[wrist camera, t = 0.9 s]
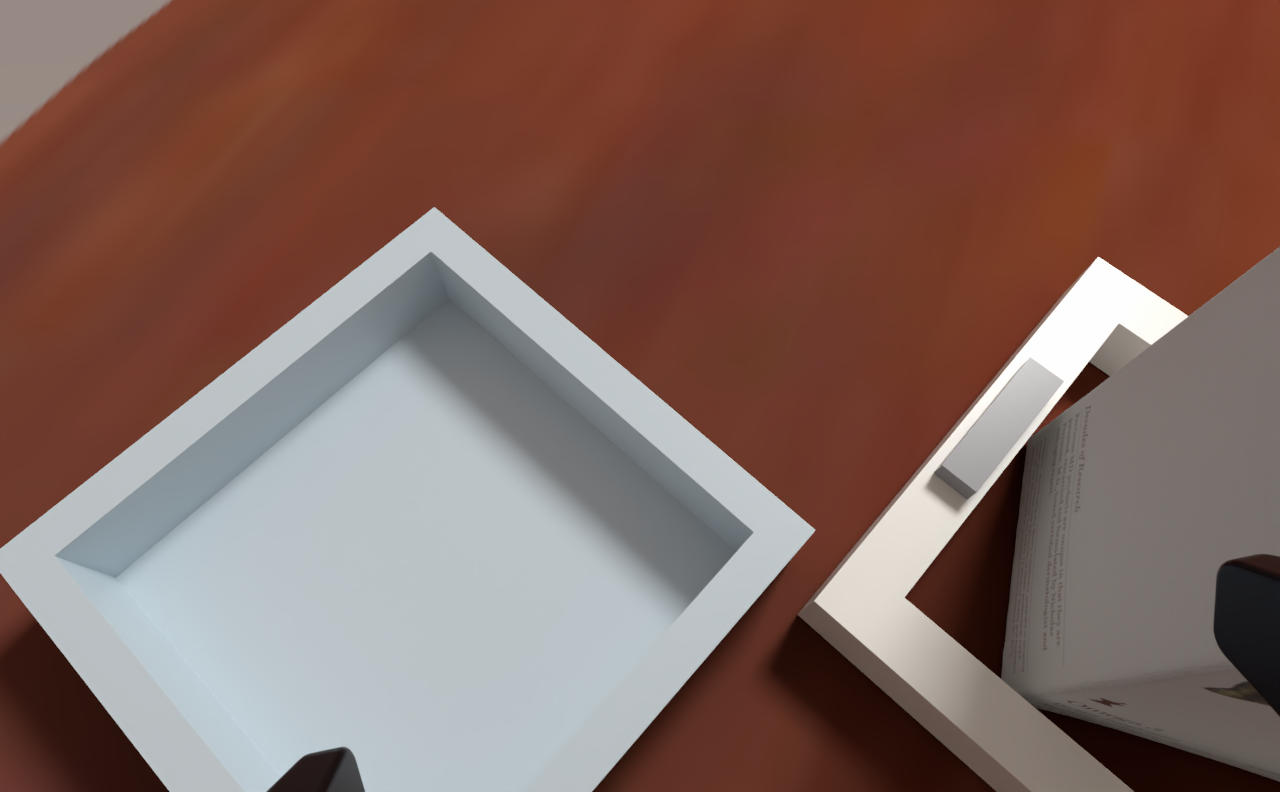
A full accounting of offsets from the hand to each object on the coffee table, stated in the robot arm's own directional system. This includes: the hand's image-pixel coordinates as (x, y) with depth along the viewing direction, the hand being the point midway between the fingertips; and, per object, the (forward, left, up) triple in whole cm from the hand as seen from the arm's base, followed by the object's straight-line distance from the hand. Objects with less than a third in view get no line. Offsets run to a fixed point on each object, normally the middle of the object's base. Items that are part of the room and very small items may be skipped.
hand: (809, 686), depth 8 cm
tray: (+7, +2, -13) cm, 15 cm away
